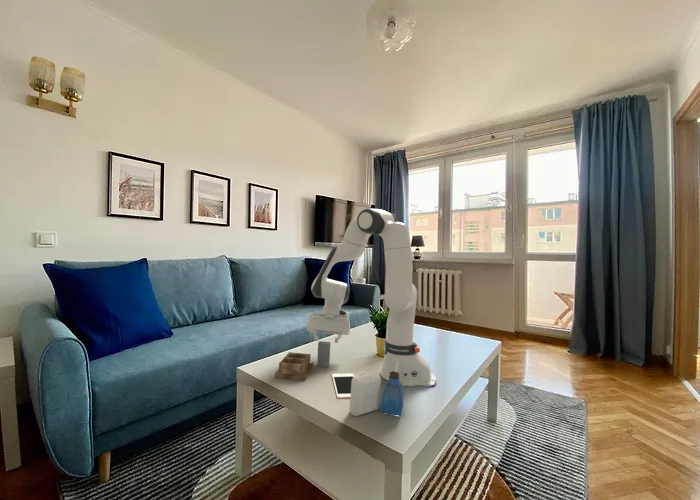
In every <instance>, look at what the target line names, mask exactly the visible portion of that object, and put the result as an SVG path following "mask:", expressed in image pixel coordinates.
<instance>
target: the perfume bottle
mask: <svg viewBox="0 0 700 500" xmlns="http://www.w3.org/2000/svg"><path fill="white" fill-rule="evenodd" d="M404 395H405V388H404V386H402V384H401V382H399V373H398V372H394V371H393V372H390V376H389V380H387V382H386V384H385V386H384V388H383V391H382V395H381V397H382V398H381V409H380V411H381V414H383V413H387V414H386V415H388V414H393V415H399V416H401V417H402V414H401V413H403V410H402V409H403V408H404V398H405V396H404ZM393 415H392V416H393Z"/></svg>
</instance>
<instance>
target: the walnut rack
mask: <svg viewBox="0 0 700 500" xmlns="http://www.w3.org/2000/svg"><path fill="white" fill-rule="evenodd" d="M313 367H314V362H311V353H301V352H290V351H288V353H287V354H286V355H285V356H284V358H282V359H281V361H280V362H279V363H278V369H277V371H276V372H275V373H274V379H280V380H281V379H282V380H291V381H299V382H305V381H306V379H307V378H308V376H309V374H310V372H311V371H312V370H313Z"/></svg>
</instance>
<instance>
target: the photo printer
mask: <svg viewBox="0 0 700 500" xmlns="http://www.w3.org/2000/svg"><path fill="white" fill-rule="evenodd" d="M381 379H382V378H381V374H380V372H378V371H374V370H369V371H367V370H366V371H364V372H360V373H358V374H356V375H354V377H353V378H352V382H351V398H349V412H350V414H351V415H352V416H355V417H358V416H362V415H365V414H368V413H371V412H374V411H377V410H378V409H379V408H380V396H381V395H380V394H381Z"/></svg>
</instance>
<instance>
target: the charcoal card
mask: <svg viewBox="0 0 700 500" xmlns="http://www.w3.org/2000/svg"><path fill="white" fill-rule="evenodd" d="M330 359H331V342H330V341H323V340H322V341H321V340H318V344H317V359H316V361H317V362H316V366H317V367H324V368H326V367H327V368H328V367H330Z"/></svg>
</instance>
